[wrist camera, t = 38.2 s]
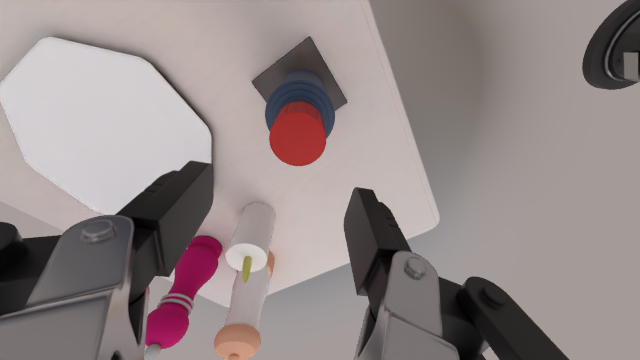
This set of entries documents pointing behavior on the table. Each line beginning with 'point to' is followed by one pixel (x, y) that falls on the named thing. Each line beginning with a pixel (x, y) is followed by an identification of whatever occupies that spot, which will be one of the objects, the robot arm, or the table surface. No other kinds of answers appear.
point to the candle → (251, 239)
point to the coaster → (299, 59)
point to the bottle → (301, 97)
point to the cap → (298, 134)
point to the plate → (99, 122)
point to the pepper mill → (181, 295)
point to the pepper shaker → (244, 315)
